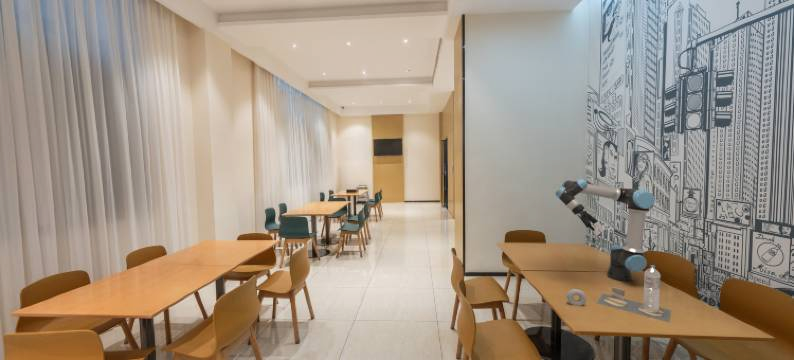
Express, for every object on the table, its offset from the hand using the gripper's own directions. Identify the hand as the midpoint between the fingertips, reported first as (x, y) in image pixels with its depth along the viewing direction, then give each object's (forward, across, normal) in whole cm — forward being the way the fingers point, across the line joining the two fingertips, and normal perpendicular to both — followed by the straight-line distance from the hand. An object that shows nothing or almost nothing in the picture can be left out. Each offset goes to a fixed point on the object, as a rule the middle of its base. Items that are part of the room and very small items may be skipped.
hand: (601, 232), depth 201 cm
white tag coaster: (+34, +16, -17) cm, 42 cm away
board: (+40, +17, -13) cm, 46 cm away
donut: (+24, +36, -30) cm, 52 cm away
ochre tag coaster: (+45, +16, -6) cm, 49 cm away
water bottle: (+45, +18, -6) cm, 49 cm away
